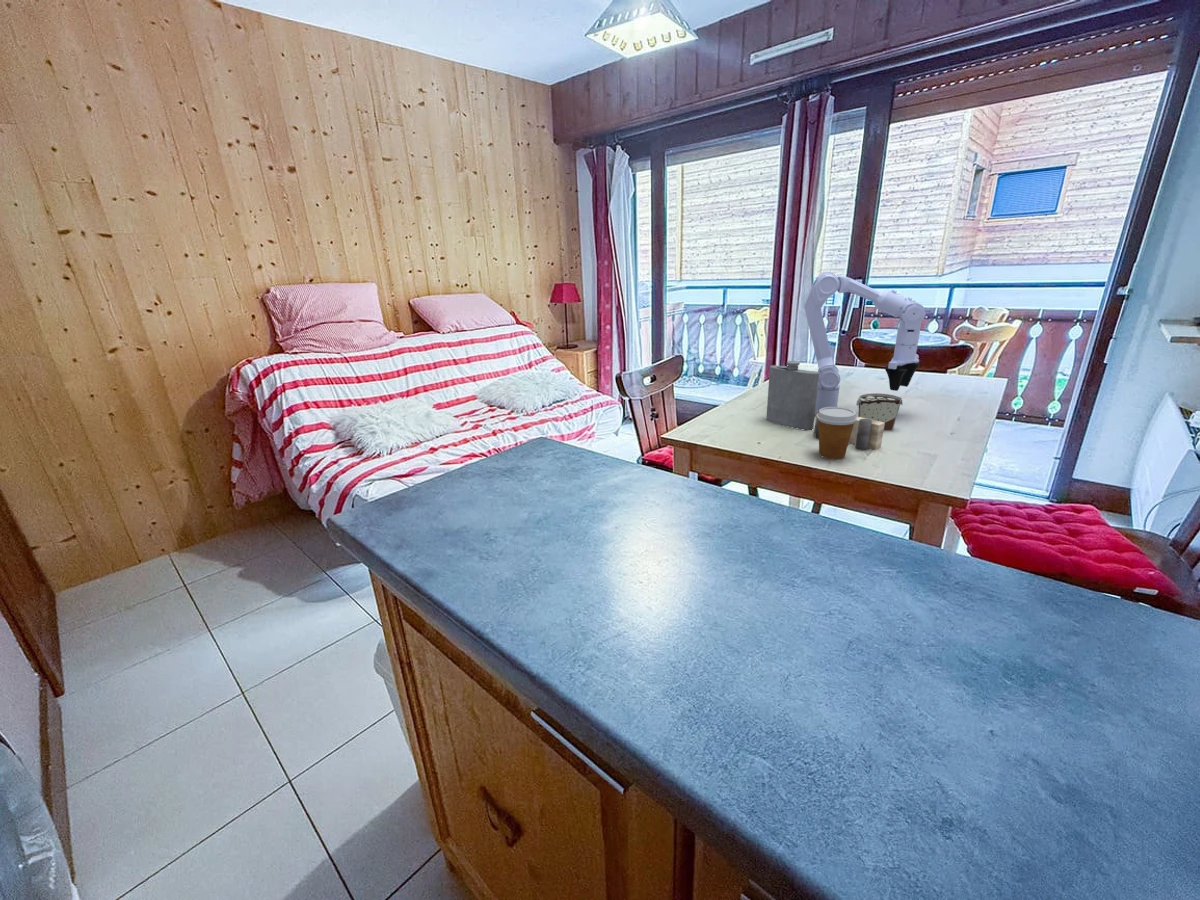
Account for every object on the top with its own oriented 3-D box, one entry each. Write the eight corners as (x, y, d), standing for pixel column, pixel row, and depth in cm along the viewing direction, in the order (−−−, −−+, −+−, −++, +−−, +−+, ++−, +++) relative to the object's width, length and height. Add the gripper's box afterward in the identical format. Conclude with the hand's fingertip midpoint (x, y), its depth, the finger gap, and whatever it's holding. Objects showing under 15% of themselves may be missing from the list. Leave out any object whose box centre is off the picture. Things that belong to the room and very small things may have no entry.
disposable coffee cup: (832, 464, 128) (838, 420, 123) (804, 452, 136) (809, 410, 131) (860, 457, 131) (866, 413, 127) (831, 445, 139) (836, 404, 135)
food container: (888, 424, 152) (894, 392, 149) (898, 430, 147) (903, 398, 143) (846, 424, 154) (850, 393, 150) (853, 431, 148) (858, 399, 144)
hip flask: (815, 428, 152) (822, 363, 145) (807, 432, 150) (814, 366, 143) (770, 417, 164) (774, 357, 157) (762, 420, 162) (766, 359, 154)
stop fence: (808, 436, 147) (810, 410, 144) (819, 431, 150) (822, 405, 147) (869, 452, 133) (874, 424, 130) (880, 446, 136) (885, 419, 133)
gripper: (909, 349, 142) (901, 395, 147) (931, 341, 150) (923, 385, 155) (884, 346, 148) (877, 391, 153) (907, 339, 155) (899, 381, 161)
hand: (899, 388), depth 154 cm, fingers open, 6 cm apart
